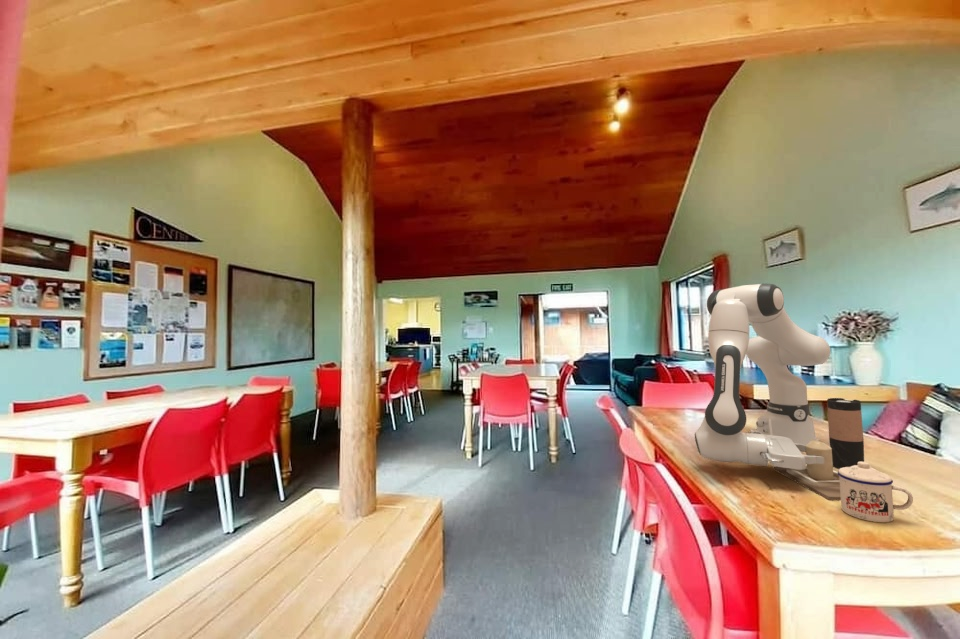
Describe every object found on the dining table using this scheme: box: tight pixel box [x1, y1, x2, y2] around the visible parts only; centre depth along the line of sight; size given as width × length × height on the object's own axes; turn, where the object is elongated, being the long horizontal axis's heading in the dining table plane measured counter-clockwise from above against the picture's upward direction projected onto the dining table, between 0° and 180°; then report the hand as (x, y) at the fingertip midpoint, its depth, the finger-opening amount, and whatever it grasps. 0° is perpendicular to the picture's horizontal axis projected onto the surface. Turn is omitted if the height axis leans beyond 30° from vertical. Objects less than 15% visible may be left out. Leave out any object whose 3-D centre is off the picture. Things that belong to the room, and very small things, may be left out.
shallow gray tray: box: [772, 465, 841, 501], centre depth 109 cm, size 22×13×2 cm, turn 174°
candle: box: [805, 440, 834, 481], centre depth 111 cm, size 6×6×10 cm
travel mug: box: [826, 397, 865, 470], centre depth 120 cm, size 8×8×20 cm
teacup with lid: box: [837, 461, 914, 523], centre depth 91 cm, size 12×9×12 cm
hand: (819, 454), depth 110 cm, fingers open, 8 cm apart
